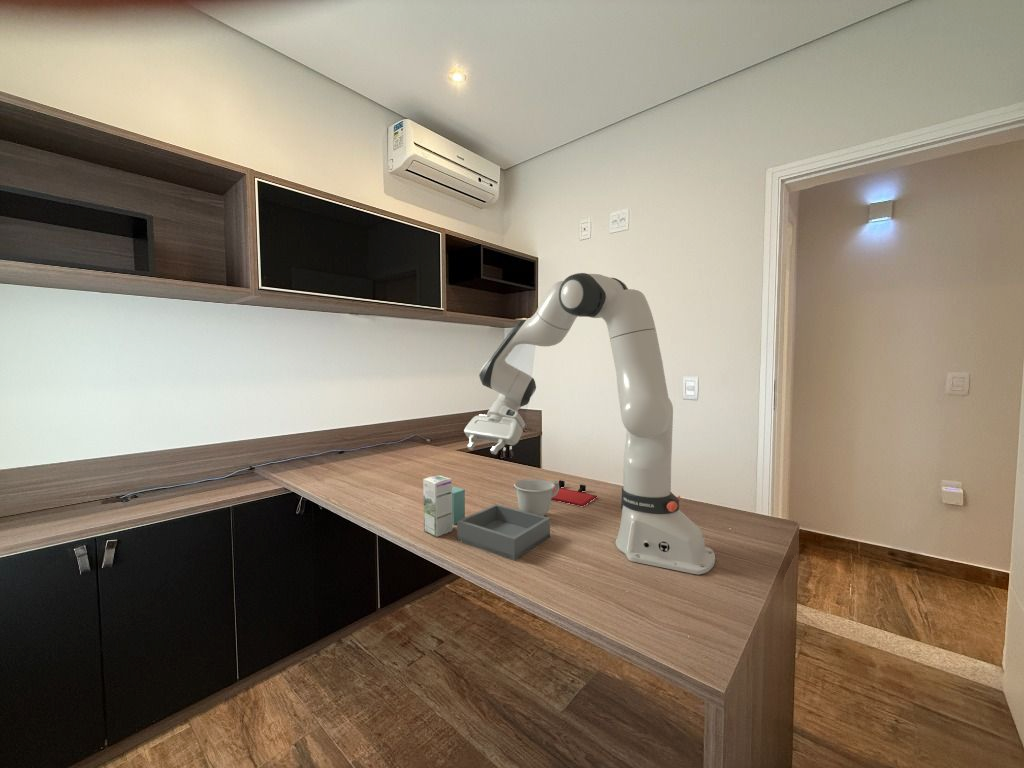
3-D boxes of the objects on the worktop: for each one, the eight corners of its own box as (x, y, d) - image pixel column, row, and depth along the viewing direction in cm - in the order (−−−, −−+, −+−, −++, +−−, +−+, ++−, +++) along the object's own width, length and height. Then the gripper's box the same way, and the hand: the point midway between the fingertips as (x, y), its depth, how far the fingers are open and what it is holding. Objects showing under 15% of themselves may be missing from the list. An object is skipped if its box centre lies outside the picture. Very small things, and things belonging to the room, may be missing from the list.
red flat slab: (529, 481, 157) (506, 491, 145) (529, 473, 157) (506, 483, 145) (601, 496, 140) (583, 510, 128) (601, 488, 140) (583, 501, 128)
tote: (549, 536, 105) (550, 518, 105) (514, 560, 92) (514, 539, 92) (496, 521, 116) (496, 503, 116) (457, 540, 103) (457, 521, 103)
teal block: (464, 520, 117) (464, 489, 116) (453, 525, 113) (453, 493, 113) (453, 516, 119) (453, 486, 119) (442, 521, 116) (442, 490, 115)
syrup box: (453, 531, 109) (453, 478, 108) (435, 537, 104) (435, 482, 104) (440, 525, 113) (440, 474, 112) (422, 531, 108) (422, 478, 108)
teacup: (570, 518, 118) (571, 485, 118) (528, 529, 110) (529, 493, 110) (546, 506, 128) (546, 475, 128) (506, 515, 121) (506, 482, 120)
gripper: (472, 407, 137) (451, 440, 130) (522, 413, 125) (502, 449, 118) (480, 419, 141) (461, 451, 133) (529, 425, 129) (511, 461, 121)
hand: (481, 450), depth 125 cm, fingers open, 8 cm apart
